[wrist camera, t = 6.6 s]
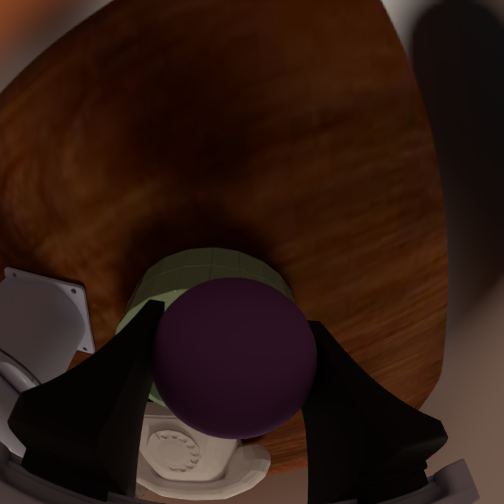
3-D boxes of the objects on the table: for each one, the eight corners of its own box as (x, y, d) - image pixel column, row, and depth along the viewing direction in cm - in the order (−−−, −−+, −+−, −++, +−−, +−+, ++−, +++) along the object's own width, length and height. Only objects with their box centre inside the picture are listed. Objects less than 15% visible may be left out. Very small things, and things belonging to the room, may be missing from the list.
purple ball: (164, 346, 14) (142, 452, 8) (169, 237, 11) (122, 349, 6) (281, 360, 15) (298, 463, 9) (317, 260, 12) (370, 372, 7)
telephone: (270, 450, 36) (276, 504, 27) (143, 451, 36) (135, 500, 27) (260, 394, 28) (267, 473, 20) (95, 396, 28) (75, 459, 20)
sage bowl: (137, 357, 25) (124, 403, 20) (134, 229, 19) (105, 269, 14) (272, 376, 27) (278, 422, 22) (316, 259, 21) (338, 305, 16)
